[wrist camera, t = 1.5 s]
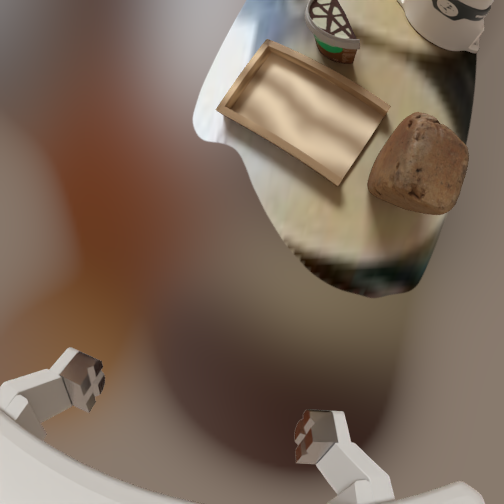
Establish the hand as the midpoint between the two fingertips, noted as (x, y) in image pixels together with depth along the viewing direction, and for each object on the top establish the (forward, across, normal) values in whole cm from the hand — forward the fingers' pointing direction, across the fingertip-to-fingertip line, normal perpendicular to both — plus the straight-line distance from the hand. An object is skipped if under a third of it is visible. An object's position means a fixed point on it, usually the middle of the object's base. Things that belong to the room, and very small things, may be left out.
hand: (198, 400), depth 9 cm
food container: (+40, -6, -32) cm, 51 cm away
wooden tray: (+39, -4, -18) cm, 43 cm away
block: (+35, -20, -12) cm, 42 cm away
